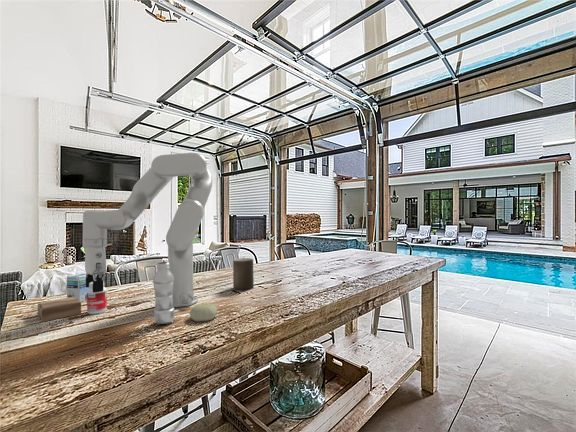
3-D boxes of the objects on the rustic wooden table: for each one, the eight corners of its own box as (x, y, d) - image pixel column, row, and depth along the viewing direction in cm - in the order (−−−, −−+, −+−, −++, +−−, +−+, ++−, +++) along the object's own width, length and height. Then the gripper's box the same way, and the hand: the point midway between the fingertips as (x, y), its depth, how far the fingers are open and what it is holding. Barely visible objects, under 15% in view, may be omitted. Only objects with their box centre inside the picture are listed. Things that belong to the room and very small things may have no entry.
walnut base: (81, 313, 106) (80, 301, 106) (42, 321, 98) (41, 309, 98) (74, 306, 114) (74, 296, 114) (37, 314, 106) (37, 302, 106)
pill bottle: (85, 315, 104) (84, 285, 104) (89, 310, 110) (89, 281, 110) (105, 313, 106) (104, 283, 106) (108, 308, 112) (108, 279, 112)
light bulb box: (79, 302, 119) (79, 276, 119) (66, 302, 121) (65, 276, 120) (101, 295, 130) (100, 271, 130) (88, 294, 131) (88, 271, 131)
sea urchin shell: (223, 308, 104) (214, 297, 99) (215, 330, 99) (205, 319, 93) (202, 306, 107) (192, 295, 102) (192, 327, 102) (181, 316, 96)
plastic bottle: (162, 328, 92) (160, 265, 92) (149, 323, 95) (148, 263, 95) (179, 321, 97) (178, 262, 97) (166, 317, 101) (165, 260, 101)
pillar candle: (252, 290, 134) (251, 258, 134) (231, 290, 135) (230, 258, 135) (254, 285, 144) (254, 255, 144) (235, 285, 144) (235, 255, 144)
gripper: (113, 244, 104) (112, 291, 105) (99, 240, 116) (99, 283, 116) (89, 246, 99) (88, 296, 99) (77, 242, 111) (76, 286, 111)
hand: (94, 289), depth 108 cm, fingers open, 9 cm apart
